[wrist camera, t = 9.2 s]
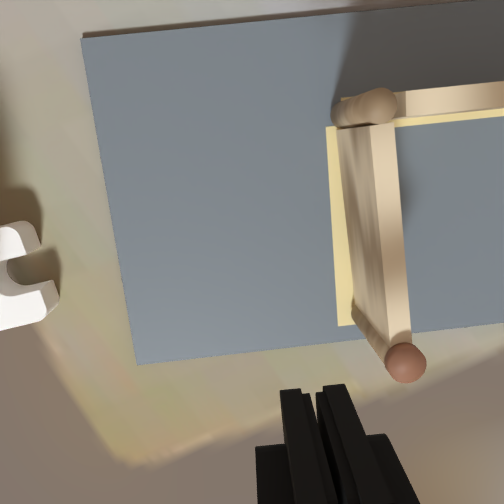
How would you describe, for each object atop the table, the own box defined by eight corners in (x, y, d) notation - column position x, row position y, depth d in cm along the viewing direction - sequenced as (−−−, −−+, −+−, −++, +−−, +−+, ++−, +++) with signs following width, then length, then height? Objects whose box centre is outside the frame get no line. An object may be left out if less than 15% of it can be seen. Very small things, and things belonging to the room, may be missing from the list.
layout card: (562, -7, 24) (566, -9, 24) (545, 315, 28) (549, 317, 28) (81, 39, 23) (79, 38, 23) (137, 362, 28) (136, 365, 27)
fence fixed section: (549, 76, 25) (656, 54, 19) (547, 111, 25) (652, 100, 19) (363, 95, 25) (409, 79, 18) (364, 130, 25) (410, 126, 19)
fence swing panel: (325, 103, 24) (361, 89, 18) (358, 98, 24) (405, 82, 18) (351, 328, 27) (390, 385, 21) (380, 323, 27) (427, 379, 21)
